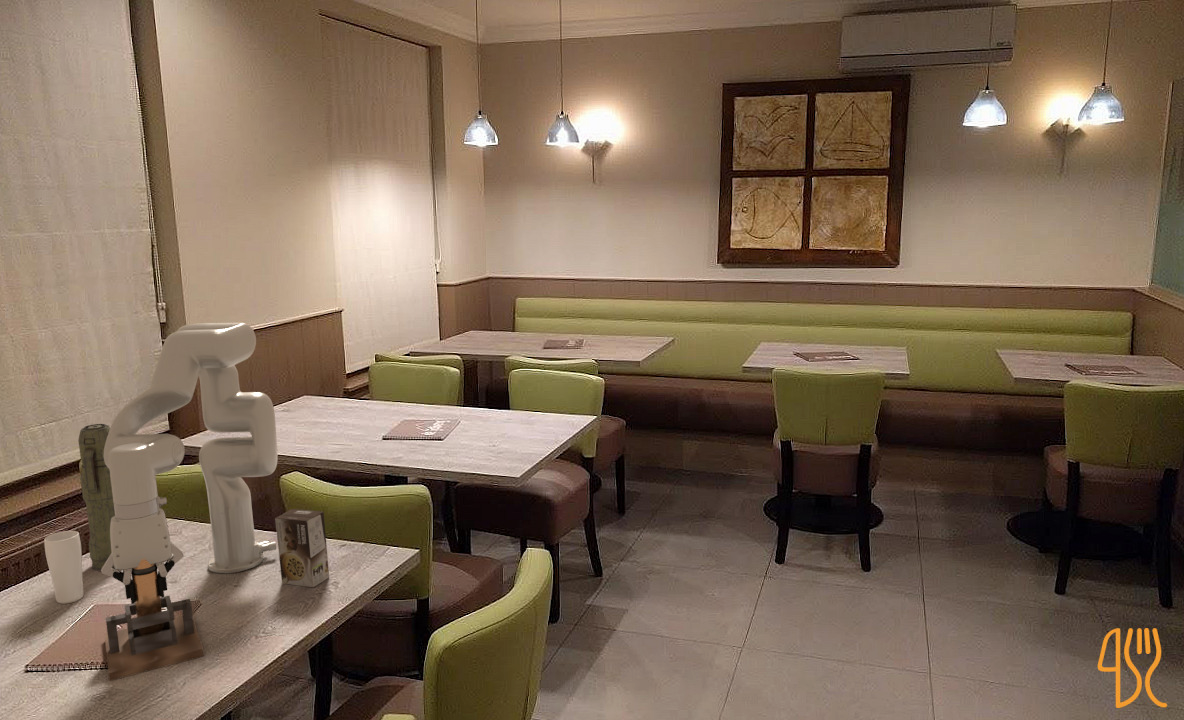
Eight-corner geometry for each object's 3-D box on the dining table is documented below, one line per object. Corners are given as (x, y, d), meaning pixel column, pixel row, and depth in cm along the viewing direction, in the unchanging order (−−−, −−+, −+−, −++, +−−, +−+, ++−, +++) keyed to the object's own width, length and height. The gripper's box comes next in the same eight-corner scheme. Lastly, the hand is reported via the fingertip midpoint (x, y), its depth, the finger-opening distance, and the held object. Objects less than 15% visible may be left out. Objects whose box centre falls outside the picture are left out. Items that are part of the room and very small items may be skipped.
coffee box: (330, 576, 201) (325, 511, 198) (313, 588, 195) (307, 520, 192) (298, 572, 204) (292, 507, 201) (280, 583, 198) (274, 517, 195)
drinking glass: (71, 607, 188) (62, 542, 186) (45, 605, 190) (36, 540, 187) (94, 593, 195) (86, 531, 192) (69, 591, 196) (60, 529, 194)
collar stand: (192, 619, 181) (187, 582, 179) (203, 655, 166) (199, 614, 164) (105, 640, 173) (100, 601, 171) (109, 680, 157) (103, 637, 156)
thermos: (84, 575, 205) (66, 433, 200) (99, 556, 217) (82, 422, 211) (125, 570, 208) (108, 430, 202) (137, 552, 219) (121, 419, 213)
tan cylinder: (163, 622, 171) (154, 546, 169) (165, 631, 168) (156, 554, 165) (137, 628, 169) (128, 551, 166) (139, 638, 165) (129, 559, 163)
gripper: (182, 494, 172) (192, 580, 175) (85, 511, 163) (97, 601, 166) (187, 505, 165) (197, 594, 168) (86, 522, 157) (98, 616, 160)
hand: (147, 596), depth 167 cm, fingers closed on tan cylinder, 4 cm apart
